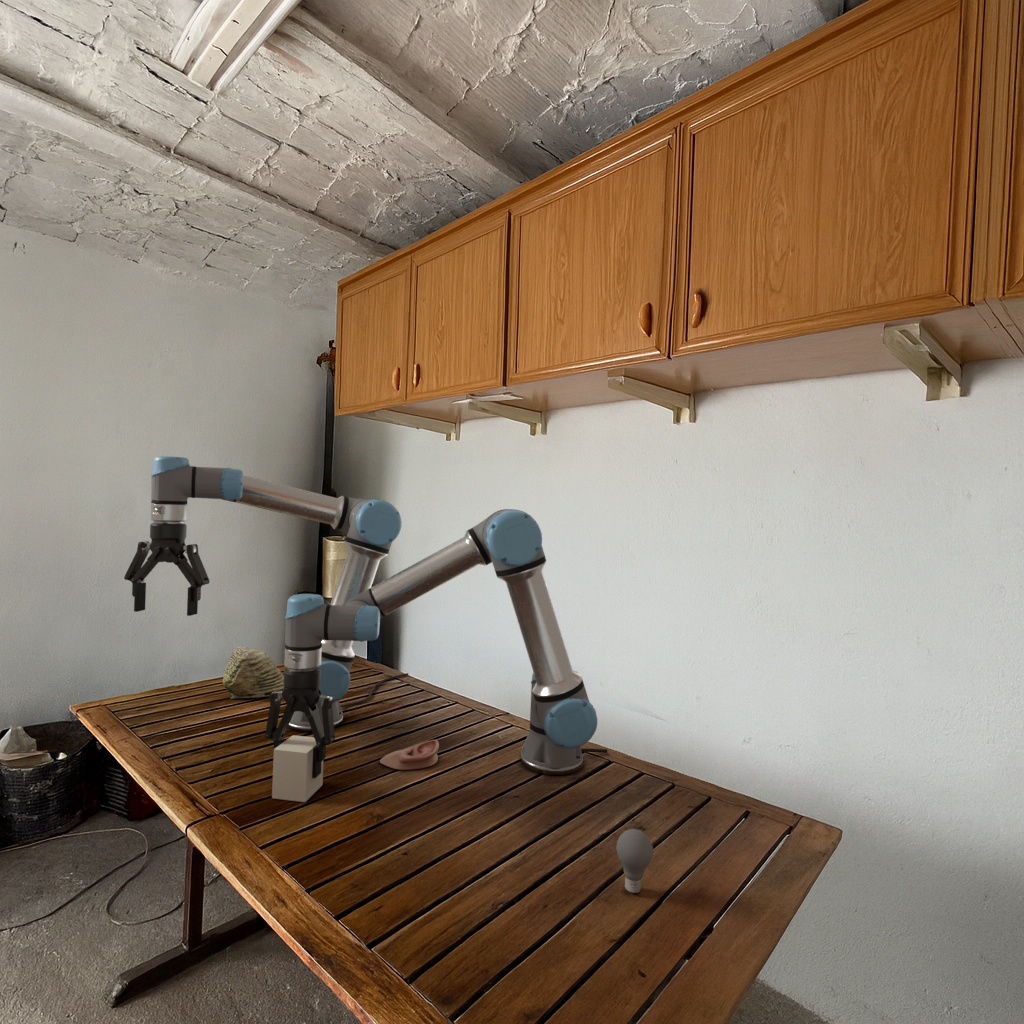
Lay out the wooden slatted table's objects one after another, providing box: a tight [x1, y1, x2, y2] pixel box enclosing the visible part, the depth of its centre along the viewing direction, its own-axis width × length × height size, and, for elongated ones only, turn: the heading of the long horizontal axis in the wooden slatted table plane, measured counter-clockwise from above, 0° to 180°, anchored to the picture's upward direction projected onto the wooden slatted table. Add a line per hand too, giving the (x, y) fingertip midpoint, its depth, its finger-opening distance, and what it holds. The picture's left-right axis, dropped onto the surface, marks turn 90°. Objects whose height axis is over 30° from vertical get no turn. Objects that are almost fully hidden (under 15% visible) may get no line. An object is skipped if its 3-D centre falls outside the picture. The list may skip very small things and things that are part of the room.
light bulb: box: [615, 828, 654, 894], centre depth 106 cm, size 6×6×10 cm
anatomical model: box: [379, 739, 440, 771], centre depth 154 cm, size 13×4×12 cm
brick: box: [271, 734, 325, 803], centre depth 136 cm, size 8×7×10 cm
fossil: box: [222, 646, 284, 699], centre depth 198 cm, size 9×18×15 cm, turn 132°
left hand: (165, 612), depth 149 cm, fingers open, 13 cm apart
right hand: (298, 773), depth 136 cm, fingers closed on brick, 7 cm apart
